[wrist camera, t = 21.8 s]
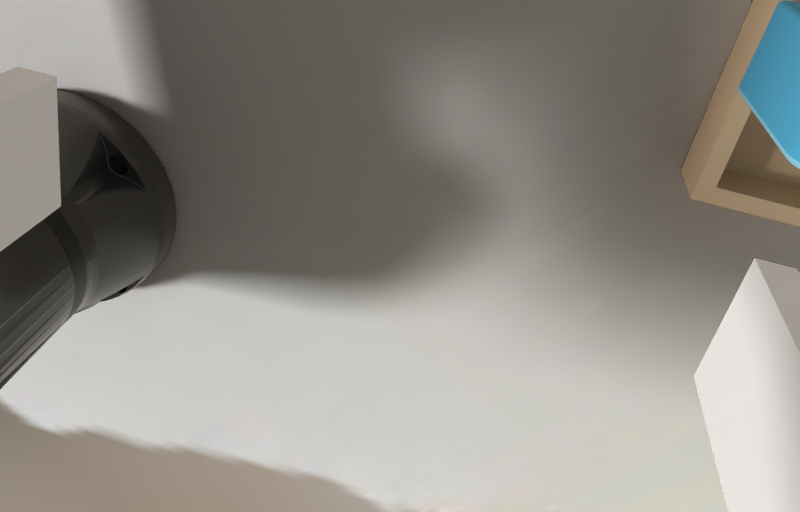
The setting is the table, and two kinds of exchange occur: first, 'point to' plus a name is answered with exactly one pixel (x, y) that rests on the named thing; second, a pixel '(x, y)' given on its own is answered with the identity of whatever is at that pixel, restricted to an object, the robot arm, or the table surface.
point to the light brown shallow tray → (742, 142)
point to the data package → (777, 80)
